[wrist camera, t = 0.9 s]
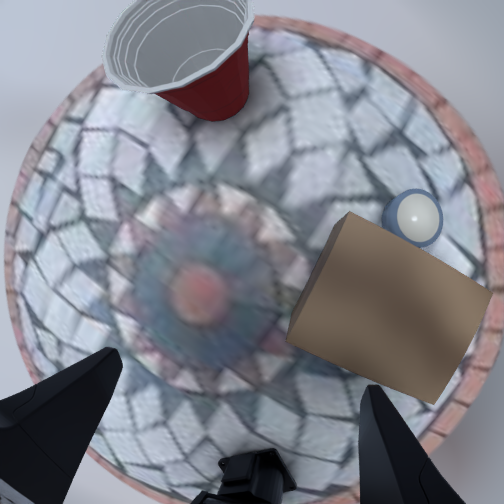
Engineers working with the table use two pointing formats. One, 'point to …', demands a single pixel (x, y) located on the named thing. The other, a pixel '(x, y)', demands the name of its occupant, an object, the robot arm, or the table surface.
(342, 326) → the brown box
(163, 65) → the plastic cup
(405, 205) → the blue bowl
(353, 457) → the table surface
